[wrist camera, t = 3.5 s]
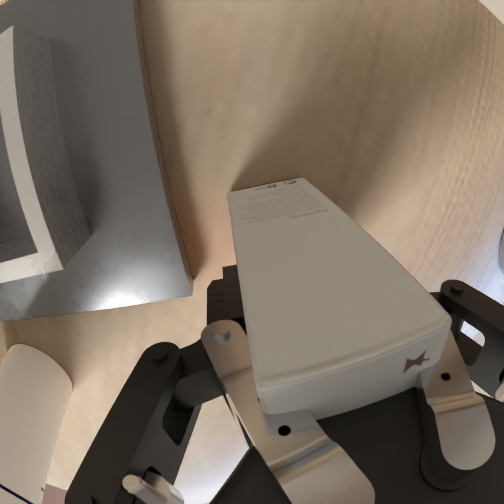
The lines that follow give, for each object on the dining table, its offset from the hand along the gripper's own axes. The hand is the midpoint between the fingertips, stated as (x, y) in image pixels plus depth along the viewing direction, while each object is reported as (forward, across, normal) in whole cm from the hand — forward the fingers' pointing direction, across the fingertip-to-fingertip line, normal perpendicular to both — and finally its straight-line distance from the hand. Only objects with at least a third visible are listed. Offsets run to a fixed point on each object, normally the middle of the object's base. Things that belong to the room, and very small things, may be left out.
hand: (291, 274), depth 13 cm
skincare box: (+4, 0, 0) cm, 4 cm away
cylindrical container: (+4, +22, +9) cm, 24 cm away
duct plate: (+4, +14, -8) cm, 17 cm away
